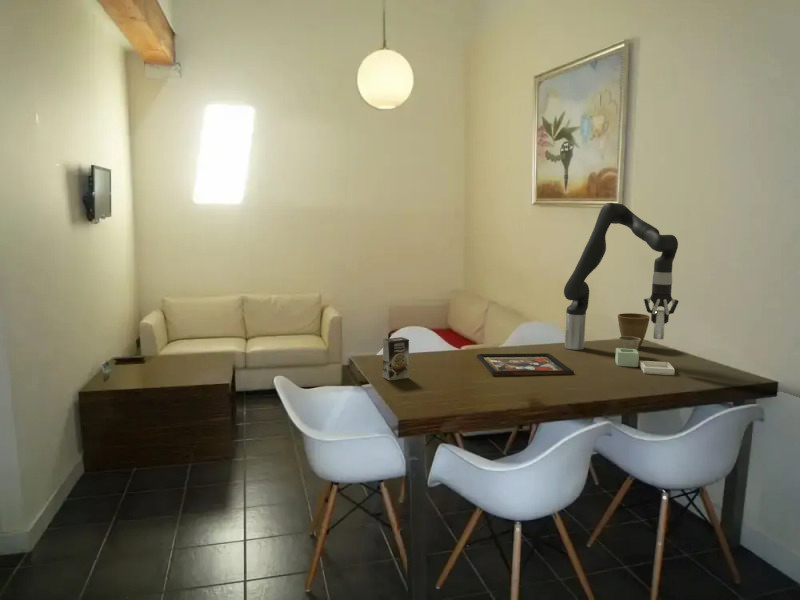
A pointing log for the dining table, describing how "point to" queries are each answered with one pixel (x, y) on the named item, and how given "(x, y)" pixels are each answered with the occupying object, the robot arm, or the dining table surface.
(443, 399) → the dining table surface
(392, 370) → the food box
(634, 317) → the plant pot
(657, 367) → the tray
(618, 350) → the block
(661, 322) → the pin
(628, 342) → the flower pot
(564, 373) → the framed painting
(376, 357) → the dining table surface
